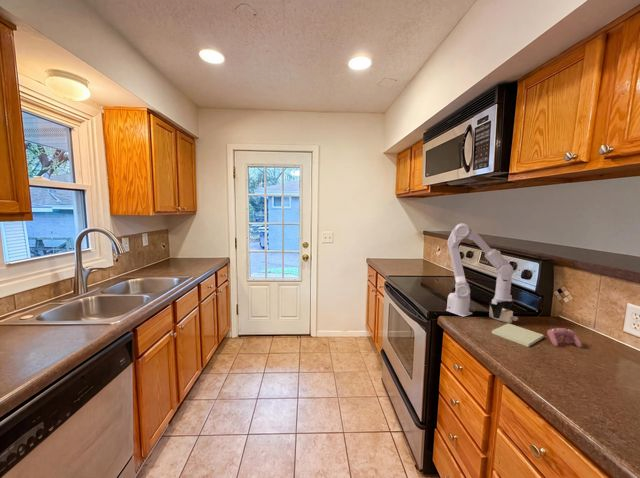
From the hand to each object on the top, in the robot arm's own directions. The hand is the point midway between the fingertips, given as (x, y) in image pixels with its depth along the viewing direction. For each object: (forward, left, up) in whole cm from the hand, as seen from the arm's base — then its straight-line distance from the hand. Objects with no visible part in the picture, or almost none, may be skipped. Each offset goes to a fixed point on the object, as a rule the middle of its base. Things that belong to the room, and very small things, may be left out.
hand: (500, 316), depth 130 cm
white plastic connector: (0, 0, -1) cm, 1 cm away
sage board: (+12, -12, -1) cm, 17 cm away
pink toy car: (+25, -4, -2) cm, 25 cm away
